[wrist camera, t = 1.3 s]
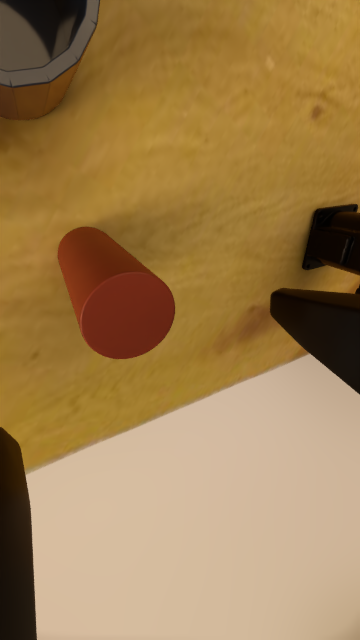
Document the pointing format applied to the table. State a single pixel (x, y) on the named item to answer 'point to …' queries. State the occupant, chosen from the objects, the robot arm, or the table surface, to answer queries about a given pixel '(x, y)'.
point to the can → (41, 52)
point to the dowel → (114, 295)
